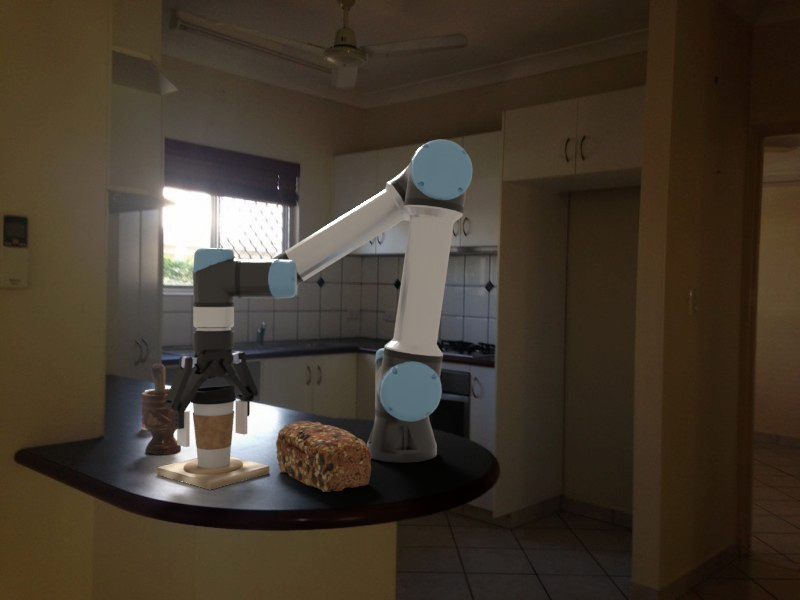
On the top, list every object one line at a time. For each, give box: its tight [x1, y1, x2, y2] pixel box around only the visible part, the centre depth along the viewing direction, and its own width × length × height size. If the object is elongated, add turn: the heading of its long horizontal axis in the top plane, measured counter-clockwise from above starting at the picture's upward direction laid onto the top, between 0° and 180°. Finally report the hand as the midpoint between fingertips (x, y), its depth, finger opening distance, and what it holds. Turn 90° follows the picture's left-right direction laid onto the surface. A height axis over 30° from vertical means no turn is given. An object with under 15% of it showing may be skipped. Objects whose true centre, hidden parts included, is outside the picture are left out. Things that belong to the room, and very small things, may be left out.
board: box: [156, 456, 270, 491], centre depth 133 cm, size 16×14×2 cm
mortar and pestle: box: [140, 362, 182, 456], centre depth 149 cm, size 12×9×20 cm
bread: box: [275, 420, 372, 493], centre depth 131 cm, size 19×11×10 cm, turn 37°
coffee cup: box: [190, 385, 237, 469], centre depth 133 cm, size 8×8×15 cm
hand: (213, 439), depth 133 cm, fingers open, 13 cm apart
